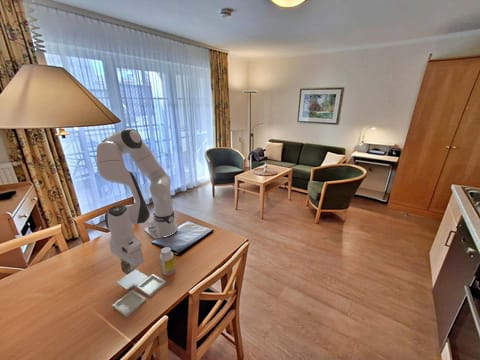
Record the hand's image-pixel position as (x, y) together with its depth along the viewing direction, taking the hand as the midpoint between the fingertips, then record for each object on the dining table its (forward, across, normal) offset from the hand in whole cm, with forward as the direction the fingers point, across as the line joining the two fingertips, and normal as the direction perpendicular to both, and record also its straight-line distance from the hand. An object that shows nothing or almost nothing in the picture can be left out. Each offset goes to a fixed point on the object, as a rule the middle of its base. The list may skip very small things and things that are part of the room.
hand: (128, 266), depth 100 cm
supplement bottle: (+8, +10, +14) cm, 19 cm away
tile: (+8, +1, 0) cm, 8 cm away
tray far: (+8, +12, -8) cm, 17 cm away
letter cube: (+2, 0, 0) cm, 2 cm away
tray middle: (+8, +12, +3) cm, 15 cm away
